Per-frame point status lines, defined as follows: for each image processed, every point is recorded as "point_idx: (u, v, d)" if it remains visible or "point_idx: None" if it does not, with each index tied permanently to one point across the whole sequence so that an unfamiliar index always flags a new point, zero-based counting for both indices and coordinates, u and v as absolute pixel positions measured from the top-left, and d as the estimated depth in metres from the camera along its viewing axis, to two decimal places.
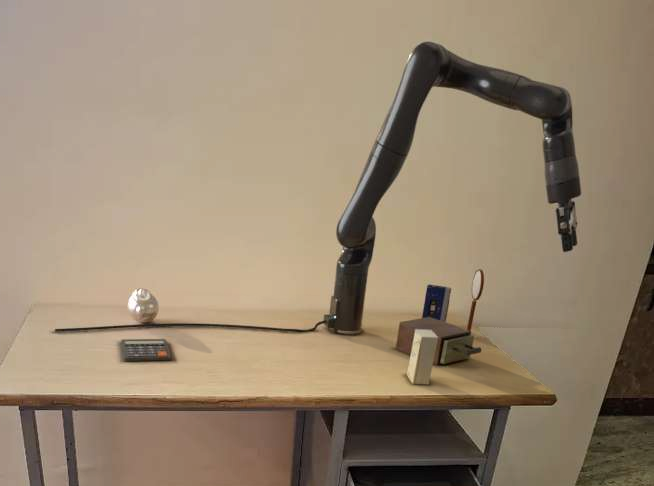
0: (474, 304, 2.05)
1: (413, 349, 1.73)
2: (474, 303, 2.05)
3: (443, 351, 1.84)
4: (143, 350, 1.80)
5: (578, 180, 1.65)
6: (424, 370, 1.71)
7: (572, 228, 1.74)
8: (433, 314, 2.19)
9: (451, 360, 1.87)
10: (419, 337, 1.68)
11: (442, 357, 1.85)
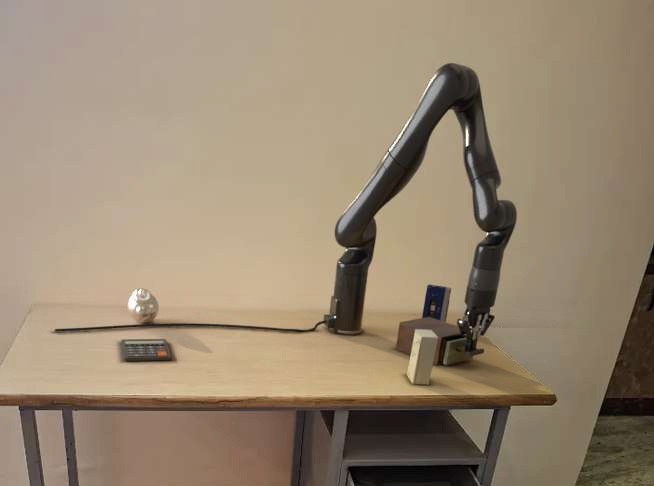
0: None
1: (413, 349, 1.73)
2: None
3: (446, 352, 1.84)
4: (143, 349, 1.80)
5: (491, 294, 1.74)
6: (424, 370, 1.71)
7: None
8: (433, 314, 2.19)
9: (454, 361, 1.86)
10: (419, 337, 1.68)
11: (444, 358, 1.85)
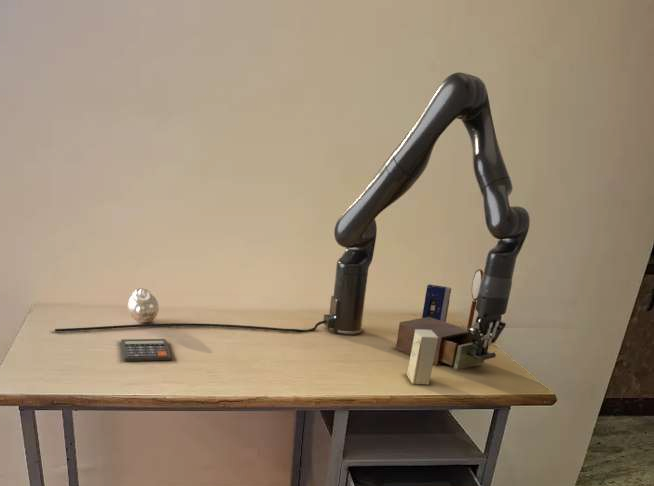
0: (474, 304, 2.05)
1: (413, 349, 1.73)
2: (474, 303, 2.05)
3: (457, 356, 1.81)
4: (143, 350, 1.80)
5: (502, 301, 1.72)
6: (424, 370, 1.71)
7: None
8: (433, 314, 2.19)
9: (465, 365, 1.84)
10: (419, 337, 1.68)
11: (455, 362, 1.82)
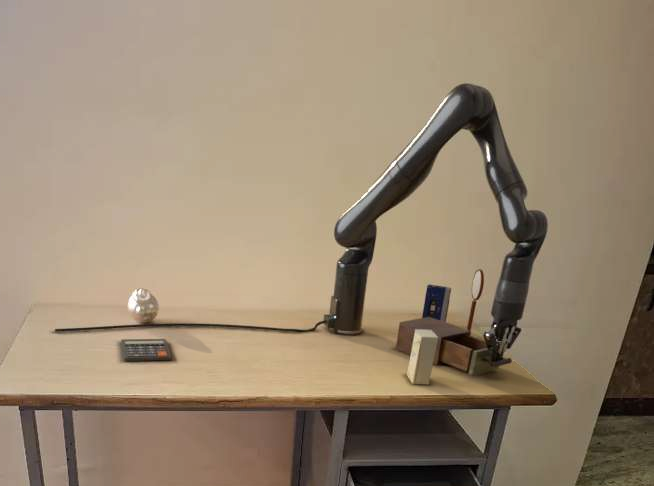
0: (474, 304, 2.05)
1: (413, 349, 1.73)
2: (474, 303, 2.05)
3: (472, 362, 1.78)
4: (143, 350, 1.80)
5: (519, 306, 1.68)
6: (424, 370, 1.71)
7: None
8: (433, 314, 2.19)
9: (480, 371, 1.80)
10: (419, 337, 1.68)
11: (470, 368, 1.79)
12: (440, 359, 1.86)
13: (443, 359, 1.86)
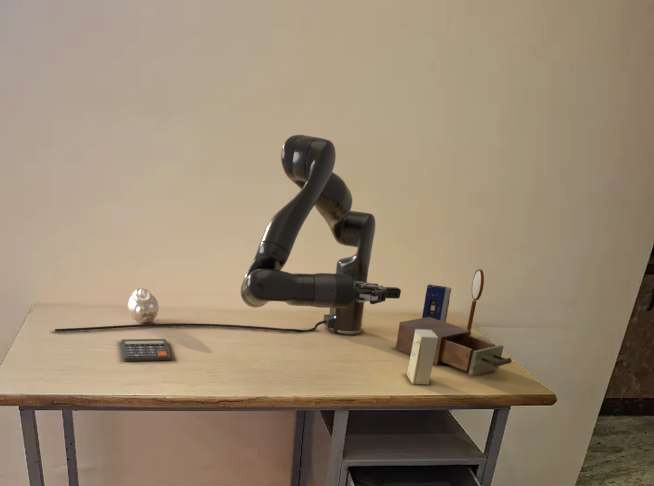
0: (474, 304, 2.05)
1: (413, 349, 1.73)
2: (474, 303, 2.05)
3: (472, 362, 1.78)
4: (143, 350, 1.80)
5: None
6: (424, 370, 1.71)
7: None
8: (433, 314, 2.19)
9: (480, 371, 1.80)
10: (419, 337, 1.68)
11: (470, 368, 1.79)
12: (440, 359, 1.86)
13: (443, 359, 1.86)
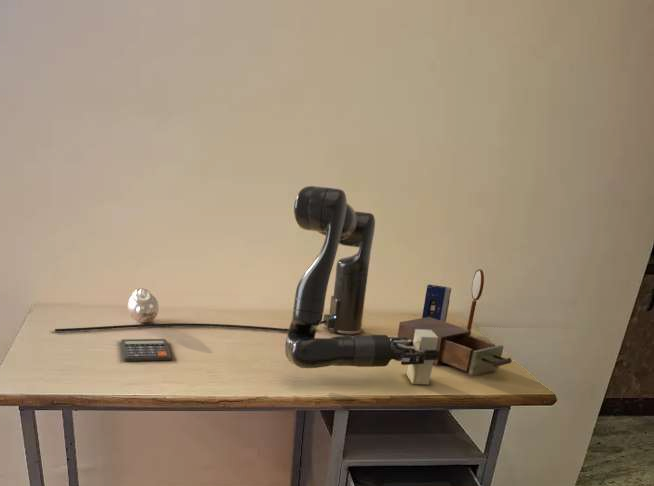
0: (474, 304, 2.05)
1: None
2: (474, 303, 2.05)
3: (472, 362, 1.78)
4: (143, 350, 1.80)
5: None
6: (424, 370, 1.71)
7: None
8: (433, 314, 2.19)
9: (480, 371, 1.80)
10: (419, 337, 1.68)
11: (470, 368, 1.79)
12: (440, 359, 1.86)
13: (443, 359, 1.86)
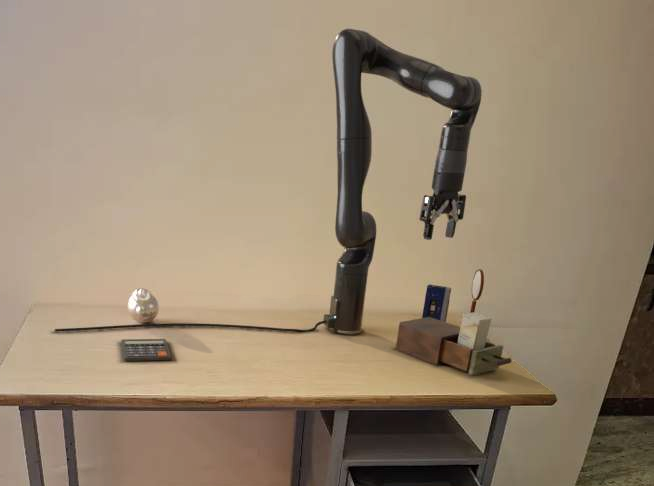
0: (474, 304, 2.05)
1: (464, 332, 1.82)
2: (474, 303, 2.05)
3: (472, 362, 1.78)
4: (143, 350, 1.80)
5: (457, 176, 1.72)
6: None
7: (453, 220, 1.82)
8: (433, 314, 2.19)
9: (480, 371, 1.80)
10: (474, 320, 1.78)
11: (470, 368, 1.79)
12: (440, 359, 1.86)
13: (443, 359, 1.86)
